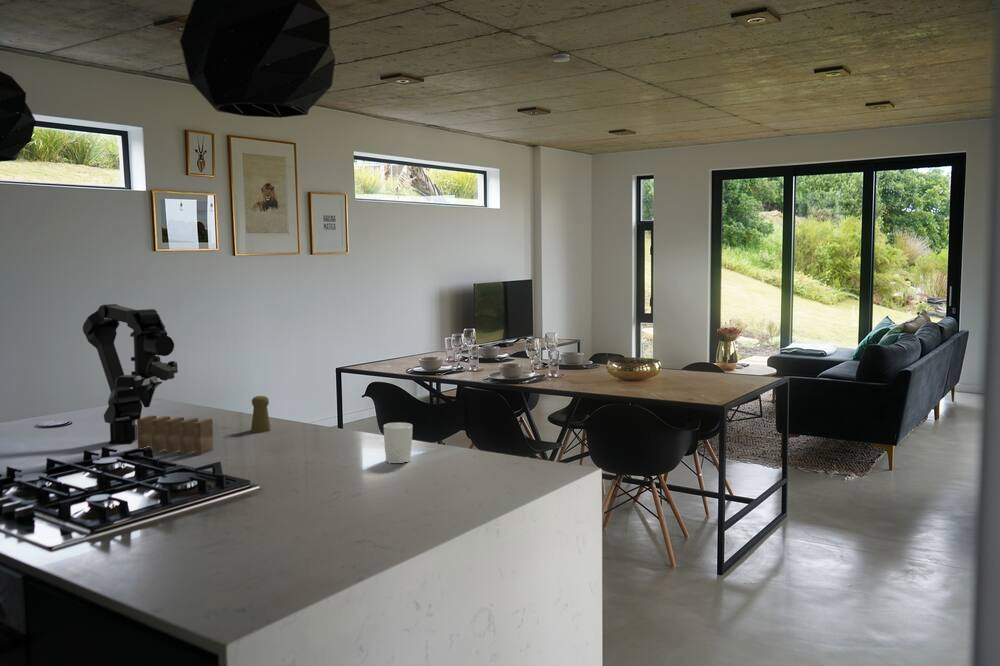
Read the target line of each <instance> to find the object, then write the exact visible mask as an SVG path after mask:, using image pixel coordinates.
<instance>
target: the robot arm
mask: <svg viewBox="0 0 1000 666" xmlns="http://www.w3.org/2000/svg"><path fill="white" fill-rule="evenodd" d="M120 322H121V323H125V324H126V325H127V327H128V328H130V329H132V332H131V333H130V334H129V336H130V337H131V338H133V356H132V357H130V361H131V362H134V371H133V370H132V371H131V372H130V373H131V374H125V372H124V368H123V367H122V364H121V359H120V357H119V354H118V352H117V349H116V346H115V341H116V338H117V335H118V334H117V329H118V327H119V326H120ZM82 331H83V334H84V336H85V337H86V340H87V343H89V344H91V346H93V347H94V348H95V349H96V352H97V353H98V356H99V360H100V362H101V363H100V364H101V366H102V368H103V372H104V375H105V377H106V381H107V384H108V387H109V390H110V394H109V397H108V400H107V405H108V407H107V409H106V410H105V412H104V413H103V419H104V423H107V424H109V430H110V431H109V435H110V436H109V437H110V439H109V441H108V444H132V443H134V442H135V441H137V440H138V430H137V424H136V421H137V419H140V418H142V410H143V407H144V408H150V406H151V403H152V399H153V396H154V394H155V391H156V389H157V388H158V387H159V386H160V385H162V384H163V382H165V381H168V380H173V379H175V374H177V373H179V371H178V363H177V362H176V361H174V360H171V361H168V362H162V361H161V357H168V356H169V355H171V354H172V352H174V349H175V342H174V340H173V339H172V337H170V336H169V335H168V331H166V326H165V325H164V322H163V320H162V318H161V317H160V315H159V313H158V311H157V310H156V309H155V308H148V309H146V308H145V309H134V308H131V307H126V306H121V305H119V304H116V303H113V304H111V303H110V304H109V303H108V304H102V305H100V306H99V308H98V309H97V310H96V311H94V312H92V313H91V314H90V315H88V316H87V318H86V320H85V322H84V323H83V325H82ZM160 356H161V357H160ZM159 380H160V381H159Z"/></svg>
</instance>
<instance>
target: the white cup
mask: <svg viewBox="0 0 1000 666" xmlns="http://www.w3.org/2000/svg"><path fill="white" fill-rule="evenodd" d="M383 441H384V452H385V462H386V461H387V462H390V463H389V464H391V463H402V462H408V461H409V460H410V461H411V455H412V454H411V453H412V446H413V444H412V443H413V424H412V423H409V422H388V423H385V424H383ZM387 462H386V463H387ZM408 463H409V462H408Z"/></svg>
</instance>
